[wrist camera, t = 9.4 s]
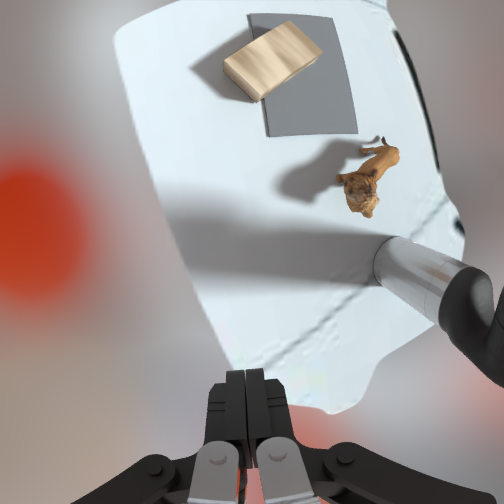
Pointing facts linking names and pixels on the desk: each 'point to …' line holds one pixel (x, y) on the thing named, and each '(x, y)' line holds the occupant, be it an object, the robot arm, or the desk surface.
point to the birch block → (271, 60)
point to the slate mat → (310, 83)
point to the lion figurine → (368, 178)
